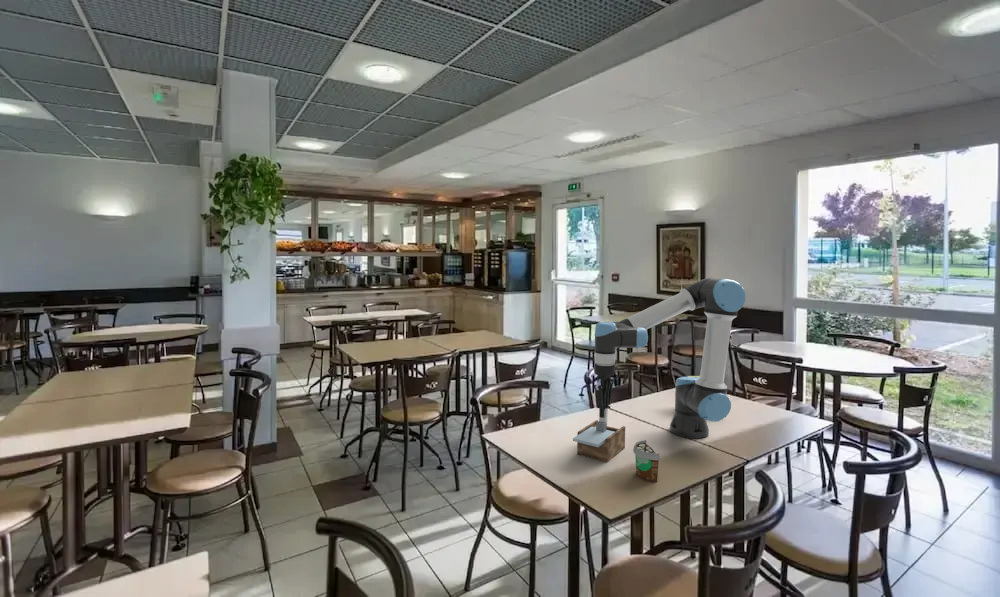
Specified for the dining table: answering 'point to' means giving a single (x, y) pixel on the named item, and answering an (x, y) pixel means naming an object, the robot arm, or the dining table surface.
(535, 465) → the dining table surface
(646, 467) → the food container
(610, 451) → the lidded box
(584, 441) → the cover plate
